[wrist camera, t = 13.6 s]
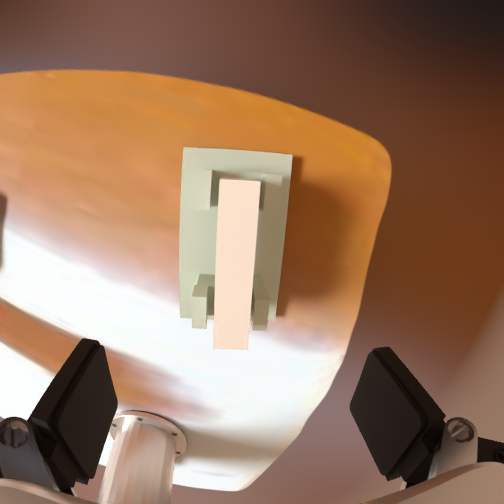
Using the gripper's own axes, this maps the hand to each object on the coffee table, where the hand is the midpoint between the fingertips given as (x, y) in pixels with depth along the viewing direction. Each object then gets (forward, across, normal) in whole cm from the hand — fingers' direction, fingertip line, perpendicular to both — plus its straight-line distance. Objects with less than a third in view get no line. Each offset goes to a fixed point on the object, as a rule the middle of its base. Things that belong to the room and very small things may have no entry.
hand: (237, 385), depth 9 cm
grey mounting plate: (+20, 0, 0) cm, 20 cm away
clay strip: (+16, 0, 0) cm, 16 cm away
